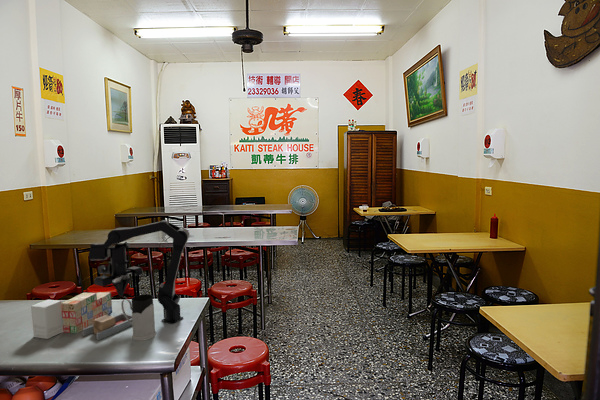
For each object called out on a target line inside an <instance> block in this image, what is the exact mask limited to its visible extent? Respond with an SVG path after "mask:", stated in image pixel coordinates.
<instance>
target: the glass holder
mask: <svg viewBox="0 0 600 400" xmlns="http://www.w3.org/2000/svg"><path fill="white" fill-rule="evenodd" d="M124 301H127V302H128V303H129V308H130V310H131V315H132V322H131V321H130V320H129V318H128V317H127V316H126V314H127V313H126V312H125V307H124ZM121 310H122V313H123V314H124V316H125V318H126V319H127V320H128V321H129V322H130V323H131V324H132V325H131V326H132V336H131V339H132V340H134V341H146V340H150V339H153V338H154V337H155V336H156V335H157V331H156V328H155V327H156V326H155V325H156V324H155V323H156V322H155V306H154V296H153V295H152V294H139V295H136V296H133V297H132V298H131V300H130V299H128V298H125V299H123V300H122V301H121ZM125 313H126V314H125Z"/></svg>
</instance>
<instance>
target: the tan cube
mask: <svg viewBox="0 0 600 400" xmlns="http://www.w3.org/2000/svg"><path fill="white" fill-rule="evenodd" d="M92 325H93V328H94V332H93V334H95V335H96V333H99V332H101V331H103V330H106V329H108V328H110V327H113V326H115V317H114V316H111V315H109V314H108V315H104V316H102V317H99V318H97V319H94V320H93V324H92Z"/></svg>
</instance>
